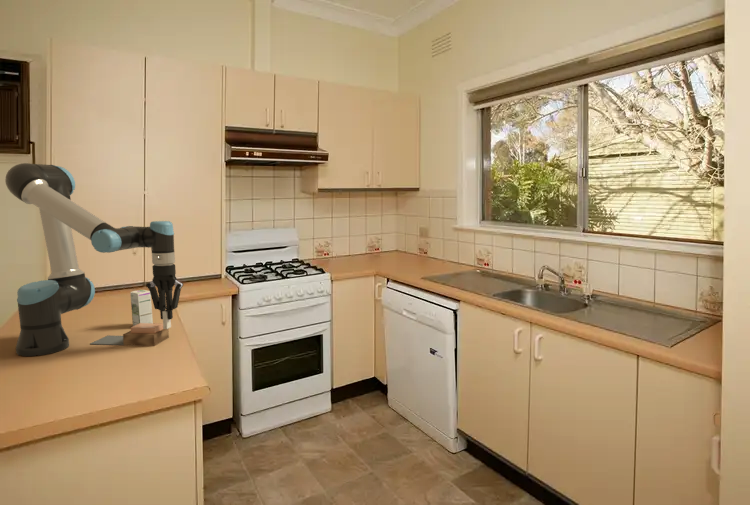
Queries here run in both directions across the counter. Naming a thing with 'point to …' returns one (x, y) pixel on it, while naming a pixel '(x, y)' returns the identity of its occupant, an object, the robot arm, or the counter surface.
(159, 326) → the salmon orange flat block
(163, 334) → the brown wooden flat block
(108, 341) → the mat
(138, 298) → the syrup box
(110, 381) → the counter surface
